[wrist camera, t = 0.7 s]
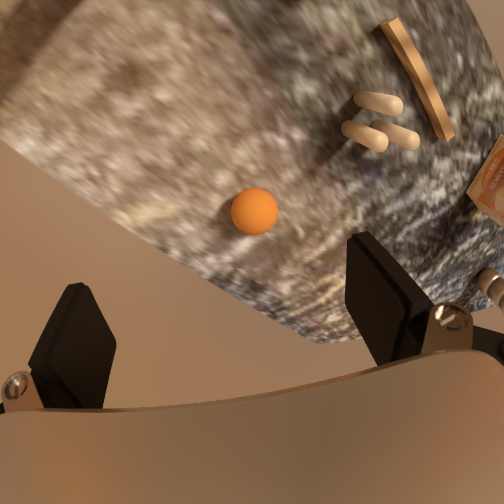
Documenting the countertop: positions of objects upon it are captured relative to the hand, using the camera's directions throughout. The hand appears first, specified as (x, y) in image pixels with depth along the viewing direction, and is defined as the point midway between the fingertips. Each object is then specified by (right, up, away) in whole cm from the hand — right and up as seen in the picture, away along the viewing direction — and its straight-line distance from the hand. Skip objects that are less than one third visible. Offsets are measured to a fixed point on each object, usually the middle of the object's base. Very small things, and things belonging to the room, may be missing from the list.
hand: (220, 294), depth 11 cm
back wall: (+25, +26, +25) cm, 44 cm away
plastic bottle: (+57, -4, +49) cm, 75 cm away
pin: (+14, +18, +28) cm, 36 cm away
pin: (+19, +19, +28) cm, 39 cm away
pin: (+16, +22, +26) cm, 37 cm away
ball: (+1, +7, +29) cm, 30 cm away
